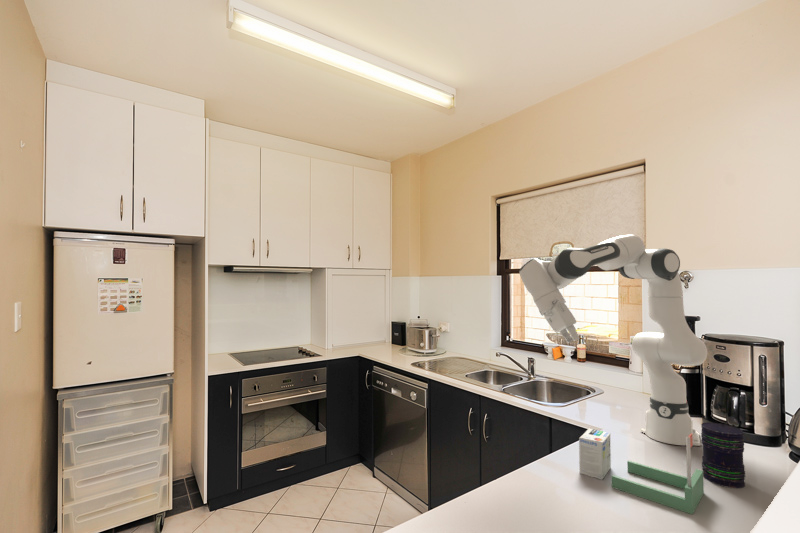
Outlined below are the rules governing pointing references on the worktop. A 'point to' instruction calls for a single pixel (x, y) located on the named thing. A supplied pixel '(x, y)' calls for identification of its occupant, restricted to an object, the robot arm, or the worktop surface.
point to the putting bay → (690, 484)
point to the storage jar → (723, 455)
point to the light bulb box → (594, 453)
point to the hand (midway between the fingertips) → (573, 341)
